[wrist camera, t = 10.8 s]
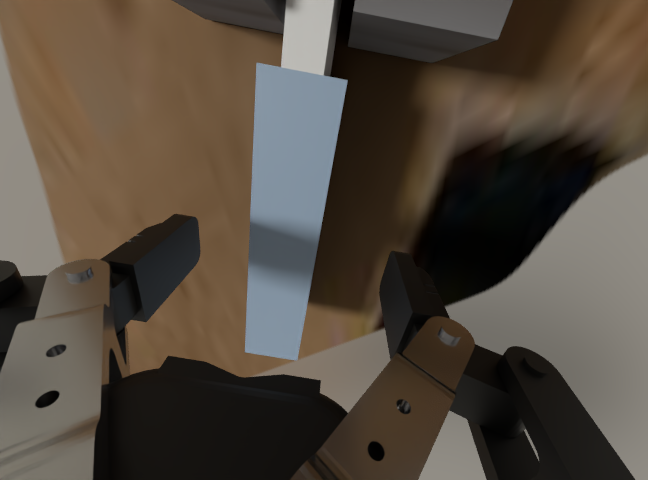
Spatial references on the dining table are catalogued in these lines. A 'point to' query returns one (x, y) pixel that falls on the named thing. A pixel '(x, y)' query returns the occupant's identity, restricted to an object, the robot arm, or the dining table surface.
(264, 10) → the brown and grey stand
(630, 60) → the dining table surface
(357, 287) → the dining table surface
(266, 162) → the blue and white bar
